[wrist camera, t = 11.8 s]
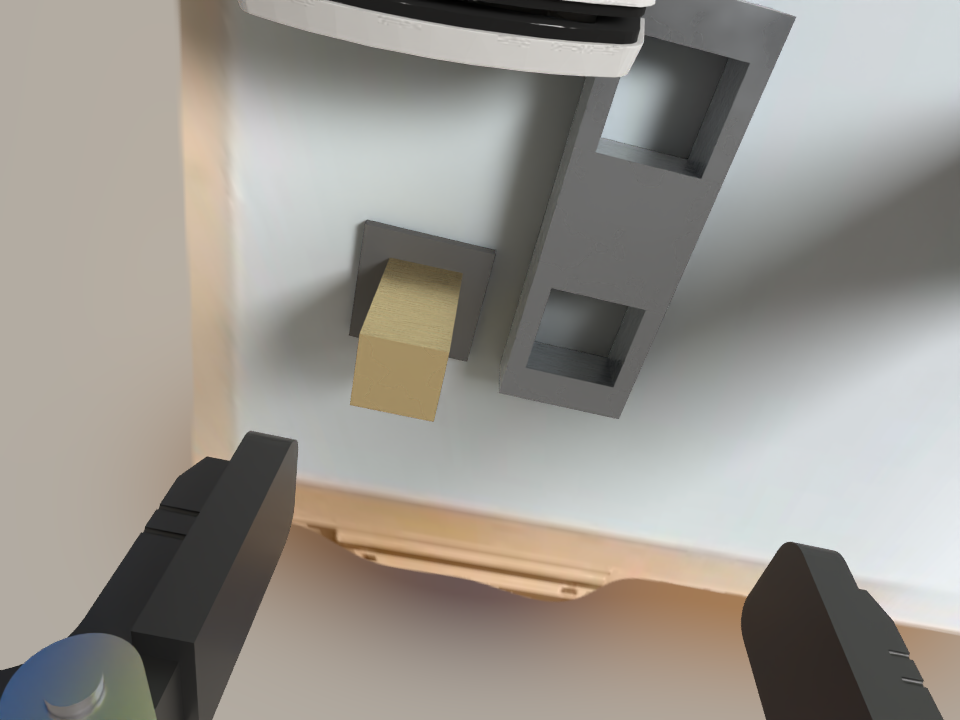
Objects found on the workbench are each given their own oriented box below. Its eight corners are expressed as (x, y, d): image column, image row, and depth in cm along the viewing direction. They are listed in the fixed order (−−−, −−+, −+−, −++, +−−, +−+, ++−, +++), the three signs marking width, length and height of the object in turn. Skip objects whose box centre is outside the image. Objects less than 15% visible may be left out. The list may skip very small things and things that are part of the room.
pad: (495, 250, 36) (495, 254, 36) (467, 356, 40) (467, 361, 39) (367, 219, 35) (365, 224, 35) (351, 330, 39) (349, 335, 39)
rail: (772, 8, 29) (796, 16, 27) (612, 388, 41) (618, 418, 38) (618, -34, 29) (628, -30, 26) (500, 363, 40) (498, 392, 37)
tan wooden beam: (462, 273, 36) (449, 352, 30) (449, 335, 38) (433, 421, 32) (390, 257, 36) (359, 333, 29) (380, 320, 38) (350, 404, 31)
